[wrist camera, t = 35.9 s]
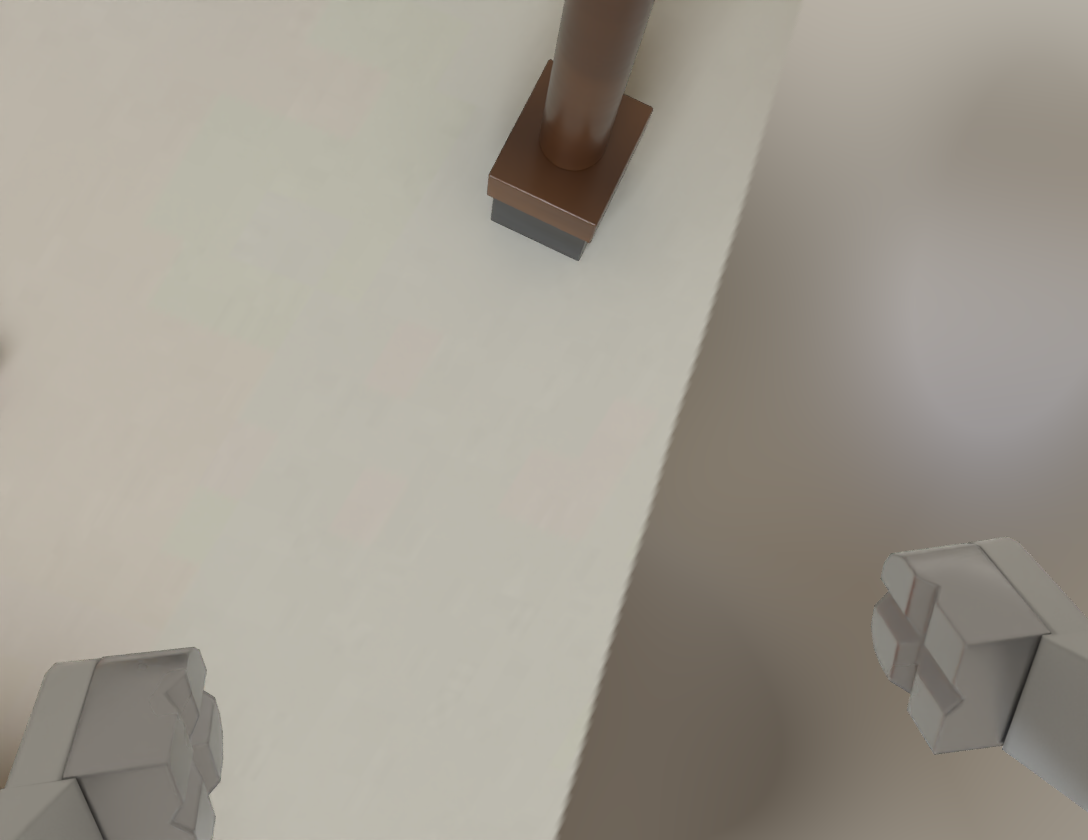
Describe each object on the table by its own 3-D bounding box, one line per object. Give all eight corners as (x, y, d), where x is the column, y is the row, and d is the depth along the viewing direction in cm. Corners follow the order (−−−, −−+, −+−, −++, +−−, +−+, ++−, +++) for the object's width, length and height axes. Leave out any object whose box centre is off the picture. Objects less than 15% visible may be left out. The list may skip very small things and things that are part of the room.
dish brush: (539, 114, 39) (601, -228, 24) (633, 159, 39) (757, -154, 24) (483, 222, 38) (510, -64, 22) (580, 268, 38) (675, 14, 22)
